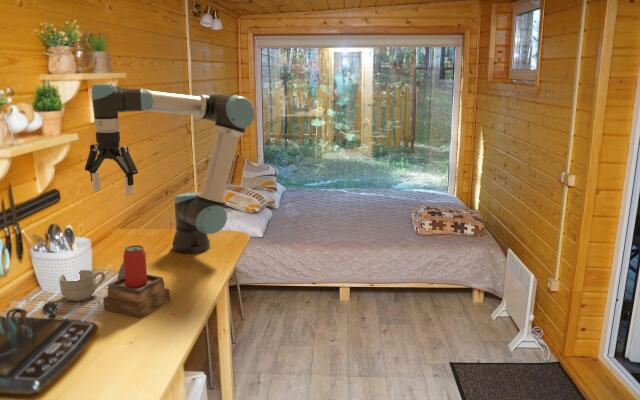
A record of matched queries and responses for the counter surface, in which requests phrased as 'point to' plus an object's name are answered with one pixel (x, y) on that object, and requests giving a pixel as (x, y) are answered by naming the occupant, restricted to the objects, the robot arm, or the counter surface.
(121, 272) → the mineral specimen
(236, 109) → the robot arm
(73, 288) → the teacup
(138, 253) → the beer can
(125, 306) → the tower base
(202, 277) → the counter surface
